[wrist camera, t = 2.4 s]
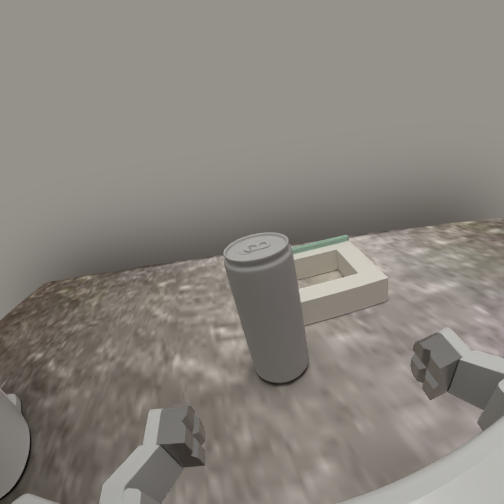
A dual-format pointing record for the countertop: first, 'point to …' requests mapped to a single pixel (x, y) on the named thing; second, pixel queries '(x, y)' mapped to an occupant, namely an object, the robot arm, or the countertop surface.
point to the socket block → (340, 290)
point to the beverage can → (268, 304)
